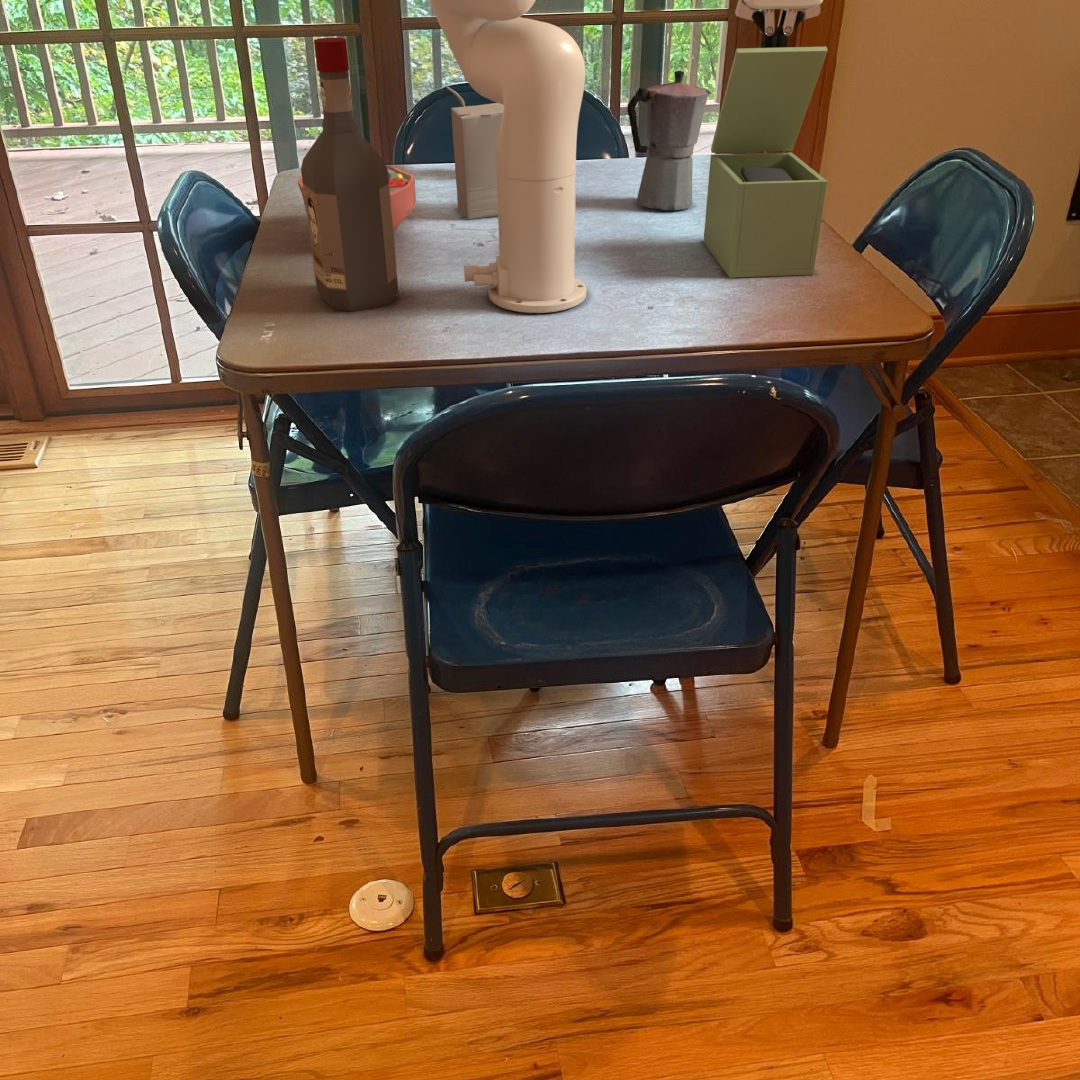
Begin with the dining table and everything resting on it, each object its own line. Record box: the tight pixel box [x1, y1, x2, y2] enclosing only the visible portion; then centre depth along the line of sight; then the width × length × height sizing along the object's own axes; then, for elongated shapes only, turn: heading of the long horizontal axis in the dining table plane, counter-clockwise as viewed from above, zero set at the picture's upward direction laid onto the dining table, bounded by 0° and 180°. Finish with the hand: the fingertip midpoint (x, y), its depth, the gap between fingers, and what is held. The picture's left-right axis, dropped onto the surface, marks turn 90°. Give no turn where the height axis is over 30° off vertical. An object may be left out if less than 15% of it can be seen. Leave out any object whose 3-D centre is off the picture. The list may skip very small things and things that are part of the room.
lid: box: [710, 46, 828, 154], centre depth 133 cm, size 16×12×1 cm
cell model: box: [296, 165, 417, 234], centre depth 147 cm, size 17×20×11 cm
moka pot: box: [626, 70, 712, 211], centre depth 157 cm, size 10×15×20 cm, turn 124°
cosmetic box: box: [450, 102, 504, 220], centre depth 156 cm, size 8×7×16 cm
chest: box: [703, 151, 828, 279], centre depth 138 cm, size 16×12×12 cm
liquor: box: [300, 37, 399, 312], centre depth 121 cm, size 9×9×30 cm
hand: (771, 68), depth 130 cm, fingers closed
